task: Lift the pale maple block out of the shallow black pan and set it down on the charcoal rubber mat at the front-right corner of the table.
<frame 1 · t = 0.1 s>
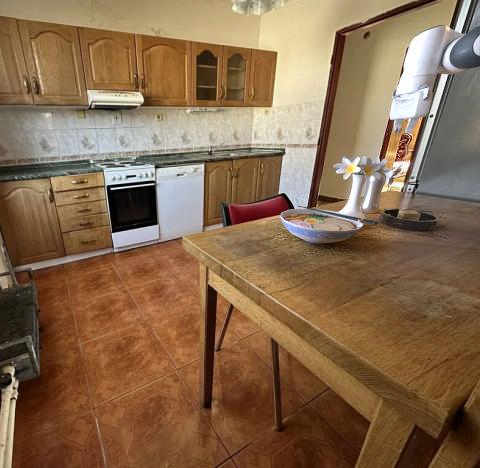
hand: (402, 133, 89), 31 cm above the table, tool pointing down, fingers open, 8 cm apart
flower vase: (350, 228, 93), on the table
pan: (405, 225, 93), on the table
block: (405, 223, 93), resting on pan
mat: (413, 214, 104), on the table
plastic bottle: (367, 213, 108), on the table
ramen bowl: (314, 240, 83), on the table
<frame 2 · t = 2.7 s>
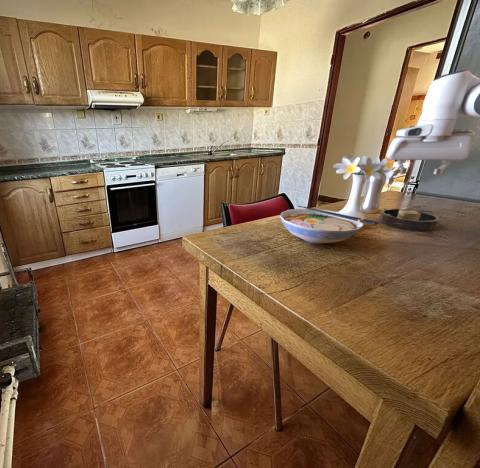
hand: (419, 173, 87), 18 cm above the table, tool pointing down, fingers open, 8 cm apart
nothing on the table moved.
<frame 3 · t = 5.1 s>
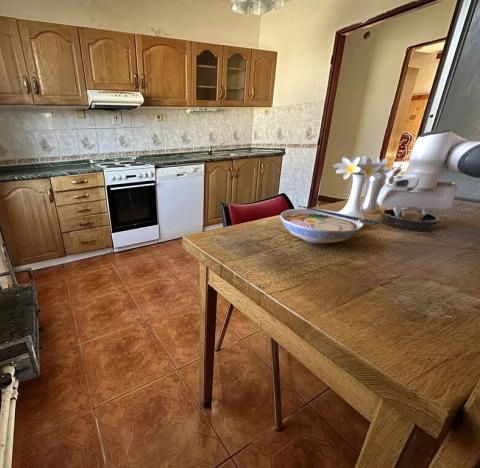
hand: (407, 219, 93), 2 cm above the table, tool pointing down, fingers closed on block, 4 cm apart
block: (406, 223, 93), point 1 cm above the table, touching gripper, pan
everything else where it was.
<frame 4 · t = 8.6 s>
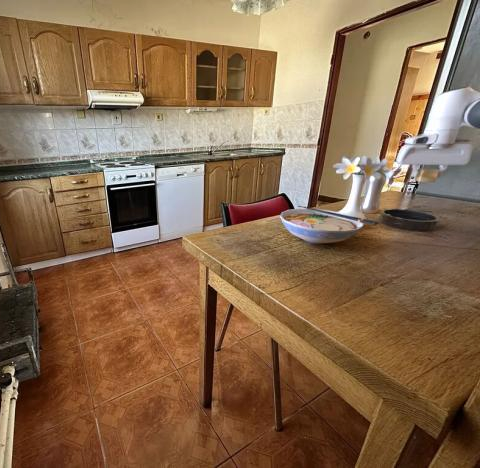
hand: (425, 176, 98), 15 cm above the table, tool pointing down, fingers closed on block, 4 cm apart
block: (424, 181, 99), point 14 cm above the table, touching gripper
everything else where it was.
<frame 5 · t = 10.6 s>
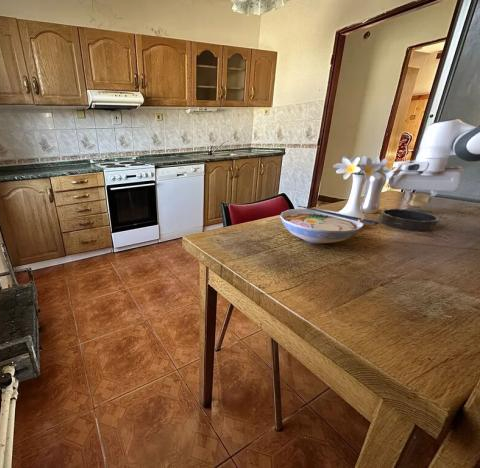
hand: (417, 201, 102), 6 cm above the table, tool pointing down, fingers closed on block, 4 cm apart
block: (416, 205, 103), point 4 cm above the table, touching gripper
everything else where it was.
when the fingers open (2 cm above the table, at t = 12.0 s): block stays where it is, resting on mat.
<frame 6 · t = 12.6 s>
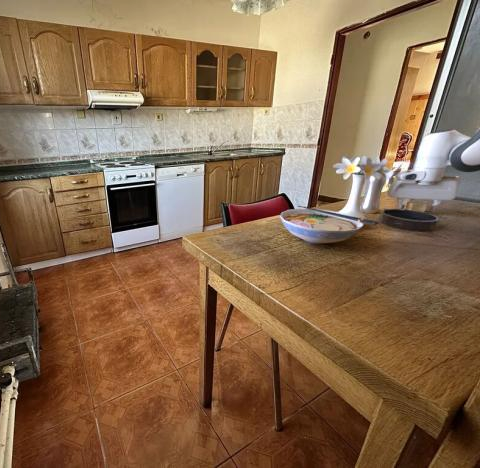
hand: (415, 209, 104), 2 cm above the table, tool pointing down, fingers open, 8 cm apart
block: (413, 213, 104), resting on mat
everything else where it was.
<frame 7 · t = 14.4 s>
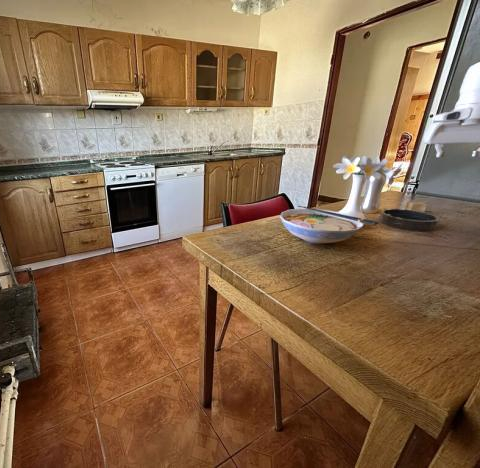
hand: (457, 156, 90), 23 cm above the table, tool pointing down, fingers open, 8 cm apart
nothing on the table moved.
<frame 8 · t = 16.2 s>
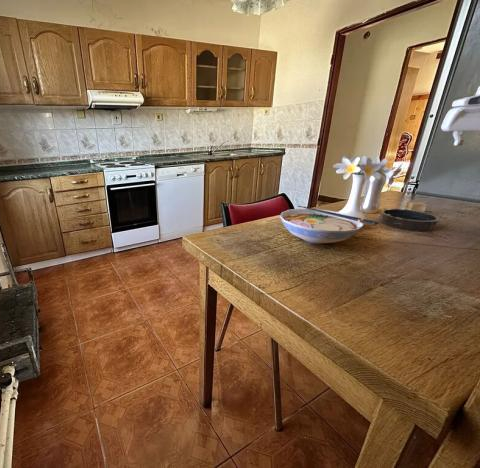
hand: (476, 145, 85), 27 cm above the table, tool pointing down, fingers open, 8 cm apart
nothing on the table moved.
at the end: block inside the target area (0.1 cm from its centre), resting on mat; block tilted 0°; the gripper is holding nothing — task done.
